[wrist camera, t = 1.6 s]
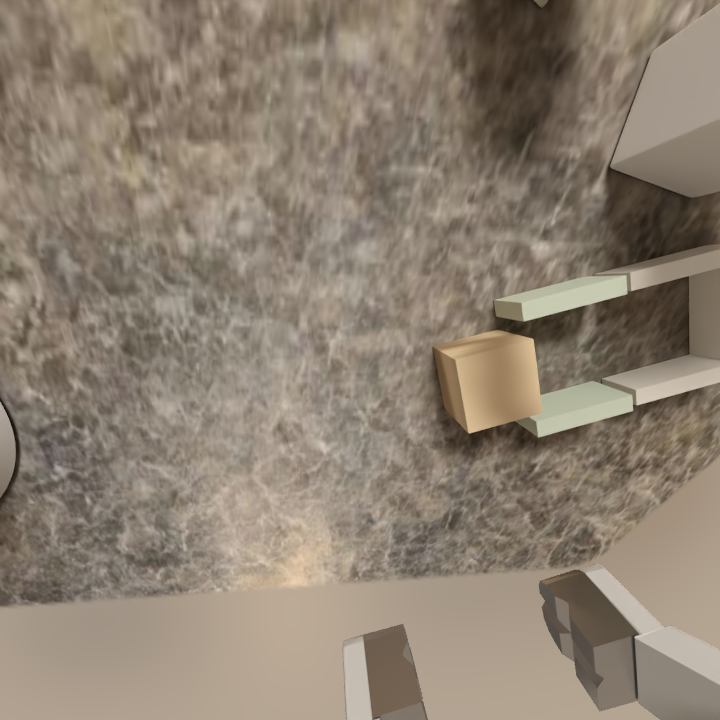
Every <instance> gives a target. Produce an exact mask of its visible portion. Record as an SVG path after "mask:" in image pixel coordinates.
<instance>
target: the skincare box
mask: <svg viewBox="0 0 720 720" xmlns="http://www.w3.org/2000/svg"><path fill="white" fill-rule="evenodd" d="M534 1H535V2H536V3H537V4H538V5H539V6H540V7H544V6H545V4H546V3H547V2H548V0H534Z"/></svg>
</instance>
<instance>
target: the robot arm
mask: <svg viewBox="0 0 720 720" xmlns="http://www.w3.org/2000/svg"><path fill="white" fill-rule="evenodd" d="M15 459H16V447H15V439H14V434H13V430H12V426H11V423H10V421H9V418H8V416H7V414H6V412H5V410H4V408H3V406H2V404H1V402H0V497H1V496H2V495H3V493H4V492H5V490H6V488H7V486H8V484H9V482H10V480H11V477H12V474H13V471H14V466H15ZM539 590H540V594H541V595H542V597H543V598H544V600H545V602H544V604H543V606H542V610H543V615H544V619H545V622H546V625H547V627H548V630H549V632H550V634H551V636H552V637H553V639H554V641H555V643H556V644H557V646H558V648H559V649H560V651H561V653H562V654H563V655H565V656H566V657H568V658H569V659H571V660H573V661H574V662H575V669H576V675H577V677H578V679H579V680H580V682H581V683H582V685H583V687H584V688H585V690H586V691H587V693H588V694H589V696H590V697H591V699H592V700H593V702H594V703H595V705H596V706H597V708H598V709H599V711H603V710H606V709H610V708H613V707H617V706H620V705H624V704H628V703H631V702H635V701H639V704H640V705H641V706H643V707H644V708H645V709H647V710H648V711H649V712H651V713H652V714H654V715H655V716H656V717H657V718H659V719H660V720H720V649H718V648H716V647H714V646H712V645H709V644H707V643H705V642H703V641H701V640H699V639H697V638H695V637H693V636H691V635H689V634H687V633H685V632H683V631H681V630H679V629H677V628H675V627H673V626H667V627H663V626H662V625H661V624H660V623H659V622H658V621H657V620H656V619H655V618H654V617H653V616H652V615H651V614H650V613H649V612H648V611H647V610H646V609H645V608H644V607H643V606H642V605H641V604H640V603H639V602H638V601H637V600H636V599H635V598H634V597H633V596H632V595H631V594H630V593H629V592H628V591H627V590H626V589H625V588H624V587H623V586H622V585H621V584H620V583H619V582H618V581H617V580H616V579H615V578H614V577H613V576H612V575H611V574H610V573H609V572H608V571H607V570H606V569H605V568H604V567H603V566H601V565H599V564H594V565H591V566H587V567H584V568H581V569H579V570H573V571H570V572H566V573H564V574H560V575H557V576H554V577H551V578H548V579H545V580H542V581H540V583H539ZM343 669H344V688H345V708H346V720H428V719H427V715H426V711H425V708H424V704H423V701H422V699H423V697H422V693H421V689H420V685H419V681H418V677H417V673H416V669H415V665H414V661H413V657H412V653H411V650H410V648H409V644H408V639H407V635H406V632H405V628H404V625H403V624H401V625H398V626H394V627H390V628H387V629H383V630H379V631H376V632H372V633H368V634H364V635H361V636H357V637H354V638H351V639H348V640H344V642H343Z"/></svg>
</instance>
